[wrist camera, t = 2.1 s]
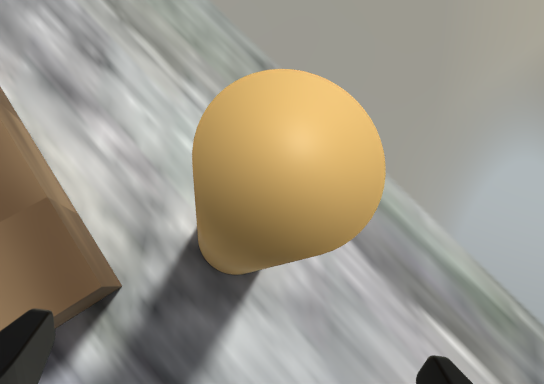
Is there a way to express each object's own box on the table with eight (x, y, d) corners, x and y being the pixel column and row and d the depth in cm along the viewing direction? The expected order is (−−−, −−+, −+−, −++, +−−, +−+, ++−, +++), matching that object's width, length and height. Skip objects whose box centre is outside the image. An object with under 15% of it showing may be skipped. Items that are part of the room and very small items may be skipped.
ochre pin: (268, 279, 20) (380, 272, 8) (191, 268, 19) (173, 240, 7) (278, 205, 21) (390, 90, 9) (205, 193, 20) (211, 50, 8)
